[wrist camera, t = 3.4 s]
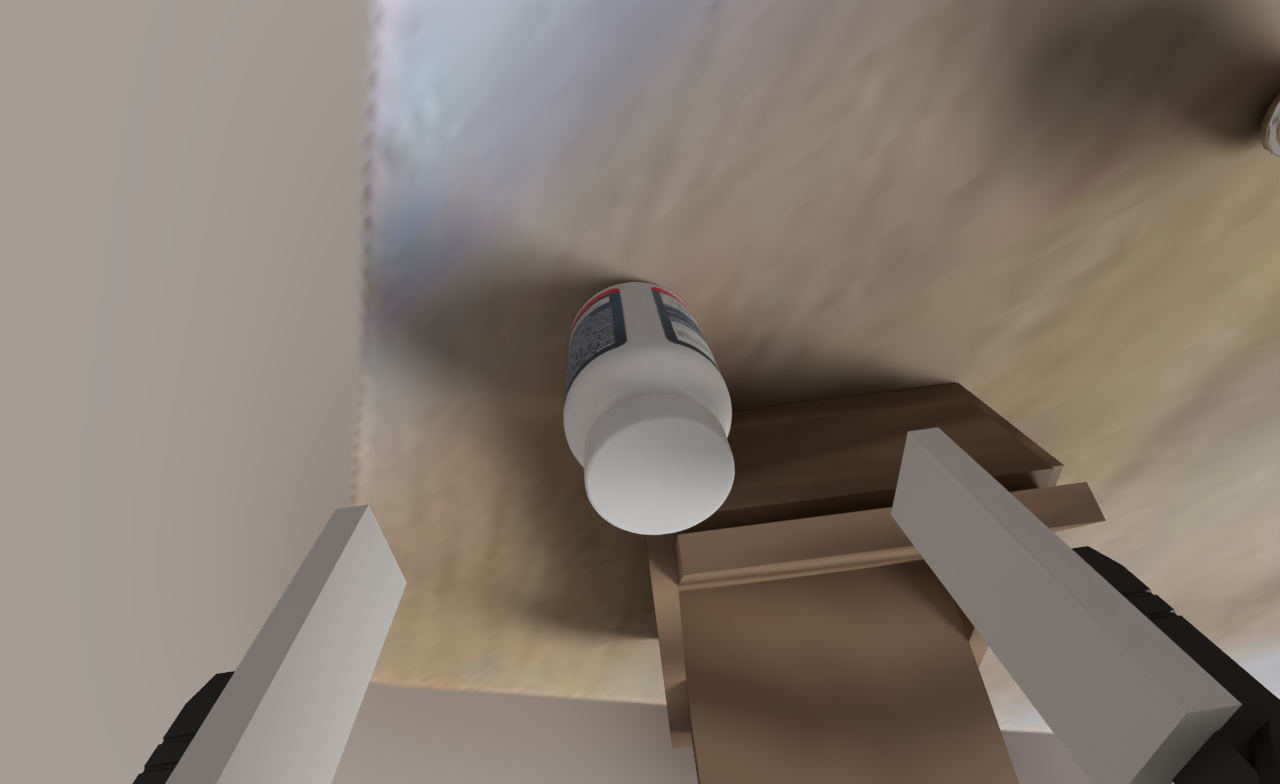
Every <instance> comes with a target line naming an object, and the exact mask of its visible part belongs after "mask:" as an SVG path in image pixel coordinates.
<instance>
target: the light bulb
mask: <svg viewBox="0 0 1280 784" xmlns="http://www.w3.org/2000/svg"><path fill="white" fill-rule="evenodd" d="M1259 139H1260V141H1261V143H1262V145H1263V148H1264V149H1266V150H1268V151H1270V153H1271V154H1274V155H1276V156H1278V157H1280V93H1279V95H1278V96H1277V97H1276V98H1275V100H1274V101H1273V102H1272V104H1271V105H1270V106H1269V108H1268V110H1267V112H1266V114H1265V116H1264V119H1263V121H1262V123H1261V129H1260V138H1259Z"/></svg>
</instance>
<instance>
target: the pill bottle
mask: <svg viewBox="0 0 1280 784" xmlns="http://www.w3.org/2000/svg"><path fill="white" fill-rule="evenodd" d="M563 420H564V430H565V435H566V439H567V442H568V444H569V447H570V449H571V451H572V453H573V455H574V456H575V458H576V459H577V461H578V462H579V463H580V464H581V465H582V466H583V467H584V481H585V489H586V493H587V496H588V499H589V501H590V503H591V504H592V506H593V507H594V509H595V510H596V511H597V513H598V514H599V515H600V516H601V517H602V518H604V519H605V520H606V521H607V522H609V523H611V524H612V525H614V526H616V527H618V528H621V529H623V530H626V531H629V532H632V533H637V534H645V535H662V534H669V533H675V532H678V531H682V530H685V529H688V528H690V527H692V526H695V525H696V524H698V523H700V522H702V521H704V520H705V519H707V518H708V517H710V516H711V515H712V514H713V513H714V512H715V511H716V510H717V509H718V508H719V507H720V506H721V505H722V504H723V502H724V501H725V500H726V498H727V496H728V494H729V493H730V490H731V488H732V485H733V481H734V475H735V467H734V459H733V455H732V452H731V449H730V446H729V443H728V440H727V437H728V434H729V431H730V426H731V420H732V407H731V400H730V395H729V392H728V389H727V386H726V384H725V381H724V378H723V376H722V374H721V372H720V370H719V368H718V366H717V364H716V361H715V359H714V357H713V355H712V353H711V351H710V349H709V347H708V345H707V343H706V340H705V338H704V336H703V334H702V332H701V330H700V328H699V326H698V324H697V322H696V320H695V318H694V316H693V314H692V313H691V311H690V309H689V308H688V307H687V305H686V304H685V303H684V302H683V301H682V300H681V299H680V298H679V297H678V296H677V295H675V294H674V293H672V292H671V291H669V290H667V289H665V288H663V287H660V286H658V285H654V284H650V283H644V282H628V283H622V284H617V285H614V286H611V287H608V288H606V289H604V290H602V291H600V292H598V293H597V294H595V295H594V296H593V297H591V298H590V299H589V300H588V301H587V302H586V303H585V304H584V305H583V307H582V308H581V309H580V311H579V312H578V314H577V316H576V317H575V319H574V322H573V324H572V327H571V331H570V337H569V346H568V361H567V374H566V387H565V397H564V409H563Z"/></svg>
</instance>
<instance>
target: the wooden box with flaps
mask: <svg viewBox="0 0 1280 784" xmlns="http://www.w3.org/2000/svg"><path fill="white" fill-rule="evenodd" d="M930 428H939V429H941V430H942V431H943V432H944V433H945V434H946V435H947V436H948V437H949V438H950V439H952V440H953V441H954V442H955V443H956V444H957V445H958V446H959V447H960V448H961V449H962V450H964V451H965V452H966V453H967V454H968V455H969V456H970V457H971V458H972V459H973V460H975V461H976V462H977V463H978V464H979V465H980V466H981V467H982V468H983V469H984V470H986V471H987V472H988V473H989V474H990V475H991V476H992V477H993V478H994V479H995V480H996V481H998V482H999V483H1000V484H1001V485H1002V486H1003V487H1004V488H1005V489H1006V490H1007V491H1009V492H1010V493H1011V494H1012V495H1013V496H1014V497H1015V498H1016V499H1017V500H1018V501H1020V502H1021V503H1022V504H1023V505H1024V506H1025V507H1026V508H1027V509H1028V510H1029V511H1030V512H1032V513H1033V514H1034V515H1035V516H1036V517H1037V518H1038V519H1039V520H1040V521H1041V522H1043V523H1044V524H1045V525H1046V526H1047V527H1048V528H1049V529H1050V530H1051V531H1052V532H1058V531H1062V530H1066V529H1071V528H1075V527H1080V526H1084V525H1088V524H1093V523H1097V522H1102V521H1106V520H1105V518H1104V516H1103V514H1102V512H1101V510H1100V508H1099V506H1098V504H1097V502H1096V500H1095V498H1094V496H1093V494H1092V492H1091V490H1090V488H1089V486H1088V484H1087V482H1084V483H1076V484H1068V485H1061V486H1055V485H1056V482H1057V480H1058V478H1059V475H1060V473H1061V471H1062V468H1063V466H1064V465H1063V464H1062V463H1060V462H1059V461H1058V460H1056V459H1055V458H1054V457H1053V456H1051V455H1050V454H1049V453H1047V452H1046V451H1045V450H1044V449H1042V448H1041V447H1040V446H1038V445H1037V444H1036V443H1035V442H1033V441H1032V440H1031V439H1029V438H1028V437H1027V436H1026V435H1024V434H1023V433H1022V432H1021V431H1019V430H1018V429H1017V428H1015V427H1014V426H1013V425H1012V424H1010V423H1009V422H1008V421H1006V420H1005V419H1004V418H1003V417H1001V416H1000V415H999V414H997V413H996V412H995V411H994V410H992V409H991V408H990V407H988V406H987V405H986V404H985V403H983V402H982V401H981V400H979V399H978V398H977V397H976V396H974V395H973V394H972V393H971V392H969V391H968V390H967V389H965V388H964V387H963V386H962V385H960V384H959V383H955V384H947V385H938V386H930V387H922V388H914V389H906V390H898V391H890V392H882V393H874V394H866V395H858V396H850V397H842V398H834V399H825V400H817V401H809V402H801V403H793V404H785V405H777V406H769V407H761V408H753V409H745V410H737V411H732V420H731V426H730V431H729V434H728V437H727V440H728V443H729V446H730V449H731V452H732V455H733V459H734V467H735V475H734V481H733V485H732V488H731V490H730V493H729V494H728V496H727V498H726V500H725V501H724V502H723V504H722V505H721V506H720V507H719V508H718V509H717V510H716V511H715V512H714V513H713V514H712V515H711V516H710V517H708V518H707V519H705V520H704V521H702V522H700V523H698V524H696V525H695V526H692V527H690V528H688V529H685V530H682V531H678V532H675V533H669V534H662V535H646V542H647V550H648V558H649V566H650V574H651V582H652V590H653V598H654V606H655V614H656V622H657V630H658V638H659V646H660V654H661V662H662V670H663V678H664V685H665V693H666V701H667V709H668V717H669V725H670V733H671V741H672V748H679V747H686V746H692V744H693V751H694V757H695V764H696V770H697V777H698V783H699V784H1019V782H1018V779H1017V777H1016V774H1015V771H1014V768H1013V765H1012V762H1011V759H1010V757H1009V754H1008V751H1007V748H1006V745H1005V742H1004V740H1003V737H1002V734H1001V731H1000V728H999V725H998V722H997V720H996V717H995V714H994V711H993V708H992V705H991V703H990V700H989V697H988V694H987V691H986V688H985V686H984V683H983V680H982V677H981V674H980V671H979V669H978V668H979V666H980V663H981V661H982V658H983V656H984V654H985V651H986V649H987V647H988V644H987V643H986V641H985V640H984V639H983V637H982V636H981V635H980V633H979V632H978V631H977V629H976V628H975V627H974V625H973V624H972V623H971V621H970V620H969V619H968V617H967V616H966V615H965V613H964V612H963V611H962V609H961V608H960V607H959V605H958V604H957V603H956V601H955V600H954V599H953V597H952V596H951V595H950V593H949V592H948V591H947V589H946V588H945V587H944V585H943V584H942V582H941V581H940V580H939V578H938V577H937V576H936V574H935V573H934V572H933V570H932V569H931V568H930V566H929V565H928V564H927V562H926V561H925V560H924V558H923V557H922V556H921V554H920V553H919V552H918V550H917V549H916V548H915V546H914V545H913V544H912V542H911V541H910V540H909V538H908V537H907V536H906V534H905V533H904V532H903V530H902V529H901V528H900V526H899V525H898V524H897V522H896V521H895V520H894V518H893V517H892V516H891V512H892V507H893V502H894V497H895V492H896V487H897V482H898V478H899V473H900V468H901V463H902V458H903V453H904V448H905V443H906V438H907V434H908V431H915V430H923V429H930ZM691 738H692V743H691Z"/></svg>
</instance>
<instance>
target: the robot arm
mask: <svg viewBox="0 0 1280 784" xmlns="http://www.w3.org/2000/svg"><path fill="white" fill-rule="evenodd" d="M891 516H892V517H893V518H894V520H895V521H896V522H897V524H898V525H899V526H900V528H901V529H902V530H903V532H904V533H905V534H906V536H907V537H908V538H909V540H910V541H911V542H912V544H913V545H914V546H915V548H916V549H917V550H918V552H919V553H920V554H921V556H922V557H923V558H924V560H925V561H926V562H927V564H928V565H929V566H930V568H931V569H932V570H933V572H934V573H935V574H936V576H937V577H938V578H939V580H940V581H941V582H942V584H943V585H944V587H945V588H946V589H947V591H948V592H949V593H950V595H951V596H952V597H953V599H954V600H955V601H956V603H957V604H958V605H959V607H960V608H961V609H962V611H963V612H964V613H965V615H966V616H967V617H968V619H969V620H970V621H971V623H972V624H973V625H974V627H975V628H976V629H977V631H978V632H979V633H980V635H981V636H982V637H983V639H984V640H985V641H986V643H987V644H988V645H989V647H990V648H991V649H992V651H993V652H994V653H995V655H996V656H997V658H998V659H999V660H1000V662H1001V663H1002V664H1003V666H1004V667H1005V668H1006V670H1007V671H1008V672H1009V674H1010V675H1011V676H1012V678H1013V679H1014V680H1015V682H1016V683H1017V684H1018V686H1019V687H1020V688H1021V690H1022V691H1023V692H1024V694H1025V695H1026V696H1027V698H1028V699H1029V700H1030V702H1031V703H1032V704H1033V706H1034V707H1035V708H1036V710H1037V711H1038V712H1039V714H1040V715H1041V716H1042V718H1043V719H1044V720H1045V722H1046V723H1047V724H1048V726H1049V727H1050V729H1051V730H1052V731H1053V733H1054V734H1055V735H1056V737H1057V738H1058V739H1059V741H1060V742H1061V743H1062V745H1063V746H1064V747H1065V748H1066V750H1067V751H1068V753H1069V754H1070V755H1071V756H1072V758H1073V759H1074V761H1075V762H1076V763H1077V765H1078V766H1079V767H1080V769H1081V770H1082V771H1083V772H1084V774H1085V775H1086V777H1087V778H1088V779H1089V781H1090V782H1091V783H1092V784H1171V783H1172V782H1174V783H1175V784H1280V699H1278V698H1277V697H1276V696H1275V695H1273V694H1272V693H1271V692H1270V691H1269V690H1267V689H1266V688H1265V687H1264V686H1263V685H1262V684H1260V683H1259V682H1258V681H1257V680H1256V679H1255V678H1253V677H1252V676H1251V675H1250V674H1249V673H1248V672H1246V671H1245V670H1244V669H1243V668H1242V667H1241V666H1239V665H1238V664H1237V663H1236V662H1235V661H1234V660H1232V659H1231V658H1230V657H1229V656H1228V655H1227V654H1225V653H1224V652H1223V651H1222V650H1221V649H1220V648H1218V647H1217V646H1216V645H1215V644H1214V643H1213V642H1211V641H1210V640H1209V639H1208V638H1207V637H1205V636H1204V635H1203V634H1202V633H1201V632H1200V631H1198V630H1197V629H1196V628H1195V627H1194V626H1193V625H1191V624H1190V623H1189V622H1188V621H1187V620H1186V619H1184V618H1183V617H1182V616H1178V615H1176V614H1175V610H1174V609H1173V608H1172V607H1170V606H1169V605H1168V604H1167V603H1166V602H1165V601H1163V600H1162V599H1161V598H1160V597H1159V596H1158V595H1153V594H1152V593H1151V589H1149V588H1148V587H1147V586H1146V585H1145V584H1144V583H1142V582H1141V581H1140V580H1139V579H1138V578H1137V577H1135V576H1134V575H1133V574H1132V573H1131V572H1130V571H1128V570H1127V569H1126V568H1125V567H1124V566H1123V565H1121V564H1119V563H1117V562H1115V561H1114V560H1112V559H1110V558H1108V557H1107V556H1105V555H1103V554H1101V553H1099V552H1098V551H1096V550H1094V549H1092V548H1090V547H1089V546H1086V547H1079V548H1072V549H1071V548H1070V547H1069V546H1068V545H1067V544H1066V543H1064V542H1063V541H1062V540H1061V539H1060V538H1059V537H1058V536H1057V535H1056V534H1055V533H1054V532H1052V531H1051V530H1050V529H1049V528H1048V527H1047V526H1046V525H1045V524H1044V523H1043V522H1041V521H1040V520H1039V519H1038V518H1037V517H1036V516H1035V515H1034V514H1033V513H1032V512H1030V511H1029V510H1028V509H1027V508H1026V507H1025V506H1024V505H1023V504H1022V503H1021V502H1020V501H1018V500H1017V499H1016V498H1015V497H1014V496H1013V495H1012V494H1011V493H1010V492H1009V491H1007V490H1006V489H1005V488H1004V487H1003V486H1002V485H1001V484H1000V483H999V482H998V481H996V480H995V479H994V478H993V477H992V476H991V475H990V474H989V473H988V472H987V471H986V470H984V469H983V468H982V467H981V466H980V465H979V464H978V463H977V462H976V461H975V460H973V459H972V458H971V457H970V456H969V455H968V454H967V453H966V452H965V451H964V450H962V449H961V448H960V447H959V446H958V445H957V444H956V443H955V442H954V441H953V440H952V439H950V438H949V437H948V436H947V435H946V434H945V433H944V432H943V431H942V430H941V429H939V428H930V429H923V430H915V431H908V434H907V438H906V443H905V448H904V453H903V458H902V463H901V468H900V473H899V478H898V482H897V487H896V492H895V497H894V502H893V507H892V512H891ZM405 586H406V581H405V579H404V577H403V575H402V573H401V570H400V568H399V566H398V564H397V562H396V560H395V558H394V556H393V554H392V552H391V550H390V548H389V546H388V544H387V542H386V539H385V537H384V535H383V533H382V531H381V529H380V527H379V525H378V523H377V521H376V519H375V517H374V515H373V513H372V511H371V509H370V506H369V505H362V506H354V507H347V508H340V509H336V510H335V511H334V513H333V515H332V516H331V518H330V519H329V521H328V523H327V524H326V526H325V527H324V529H323V531H322V532H321V534H320V535H319V537H318V539H317V540H316V542H315V544H314V545H313V547H312V548H311V550H310V552H309V553H308V555H307V556H306V558H305V560H304V561H303V563H302V565H301V566H300V568H299V569H298V571H297V573H296V574H295V576H294V577H293V579H292V581H291V582H290V584H289V585H288V587H287V589H286V590H285V592H284V593H283V595H282V597H281V598H280V600H279V601H278V603H277V605H276V606H275V608H274V609H273V611H272V613H271V614H270V616H269V618H268V619H267V621H266V622H265V624H264V626H263V627H262V629H261V630H260V632H259V634H258V635H257V637H256V639H255V640H254V642H253V643H252V645H251V647H250V648H249V650H248V651H247V653H246V655H245V656H244V658H243V659H242V661H241V663H240V664H239V666H238V667H237V669H236V671H233V672H226V673H220V674H216V675H215V676H214V677H213V678H212V679H211V680H210V681H209V682H208V683H207V684H206V685H205V686H204V687H203V688H202V689H201V690H200V691H199V692H197V693H196V694H195V695H194V696H193V697H192V698H191V699H190V700H189V701H188V702H187V703H186V705H185V706H184V708H183V709H182V710H181V712H180V713H179V715H178V716H177V718H176V719H175V721H174V722H173V724H172V725H171V727H170V729H169V730H168V732H167V733H166V735H165V736H164V737H163V739H164V741H163V743H162V744H160V745H158V746H157V748H156V749H155V751H154V752H153V754H152V755H151V757H150V758H149V760H148V761H147V763H146V764H145V766H144V767H145V770H144V772H143V773H141V774H139V775H138V776H137V778H136V779H135V781H134V782H133V784H331V782H332V780H333V777H334V774H335V772H336V769H337V766H338V763H339V761H340V758H341V756H342V753H343V750H344V748H345V745H346V742H347V740H348V737H349V734H350V731H351V729H352V726H353V724H354V721H355V718H356V716H357V713H358V710H359V708H360V705H361V703H362V700H363V697H364V695H365V692H366V689H367V686H368V684H369V681H370V679H371V676H372V673H373V671H374V668H375V665H376V663H377V660H378V657H379V655H380V652H381V649H382V647H383V644H384V642H385V639H386V636H387V634H388V631H389V628H390V626H391V623H392V620H393V618H394V615H395V612H396V610H397V607H398V604H399V602H400V599H401V596H402V594H403V591H404V588H405Z"/></svg>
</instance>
